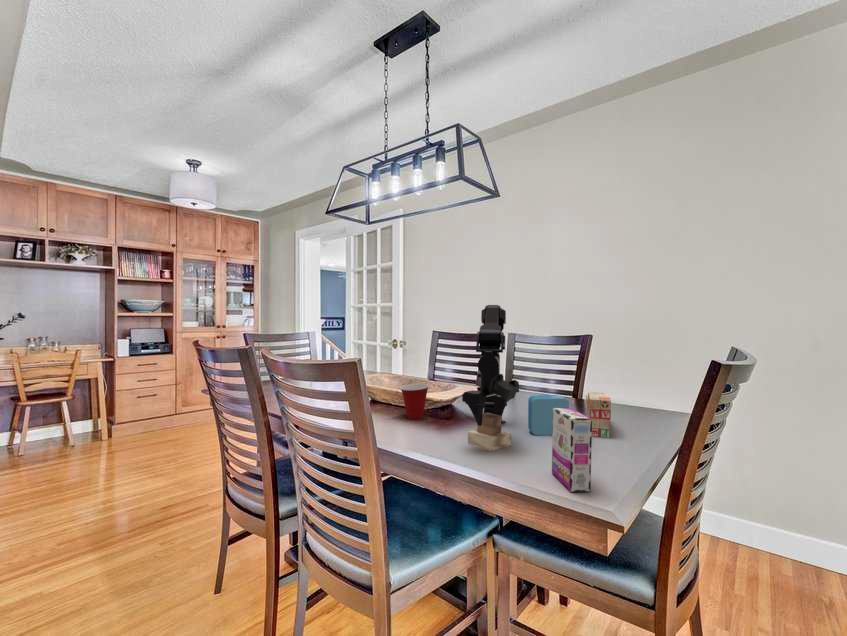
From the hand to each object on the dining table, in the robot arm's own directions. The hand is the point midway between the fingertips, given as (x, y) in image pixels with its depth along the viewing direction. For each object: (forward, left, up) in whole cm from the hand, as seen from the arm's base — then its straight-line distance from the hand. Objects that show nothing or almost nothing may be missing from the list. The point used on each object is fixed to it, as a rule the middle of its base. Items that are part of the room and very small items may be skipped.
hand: (489, 422), depth 126 cm
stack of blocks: (-40, +14, -7) cm, 43 cm away
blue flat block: (-23, +6, -7) cm, 25 cm away
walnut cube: (0, 0, -3) cm, 3 cm away
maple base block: (0, 0, -7) cm, 7 cm away
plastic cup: (-4, -38, -7) cm, 39 cm away
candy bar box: (+8, +30, -7) cm, 32 cm away
